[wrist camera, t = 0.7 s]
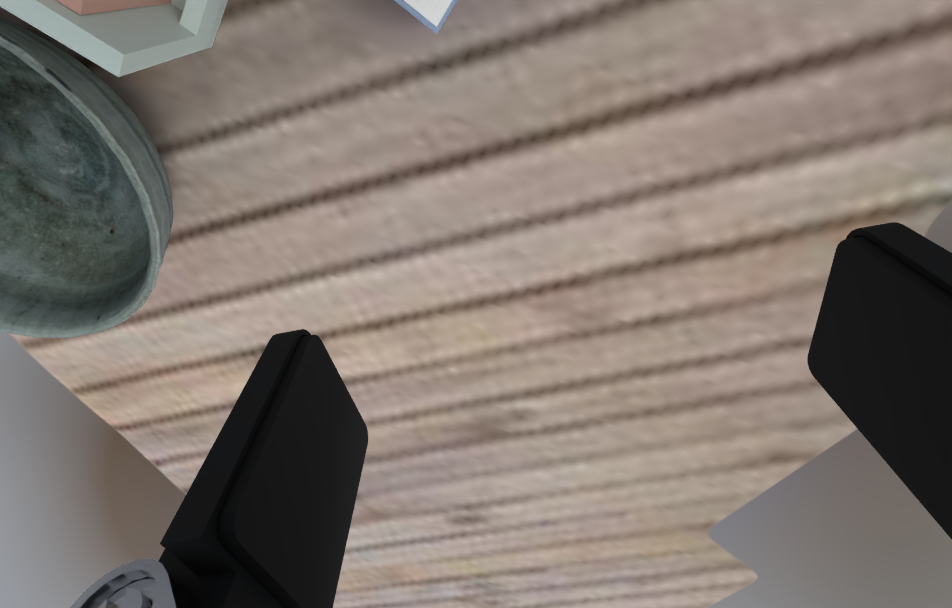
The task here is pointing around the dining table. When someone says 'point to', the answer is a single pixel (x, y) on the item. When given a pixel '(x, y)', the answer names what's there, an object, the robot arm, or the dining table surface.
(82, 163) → the bowl
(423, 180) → the dining table surface
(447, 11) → the book
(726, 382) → the dining table surface
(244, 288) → the dining table surface
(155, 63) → the mint u-shaped tray
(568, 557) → the dining table surface
